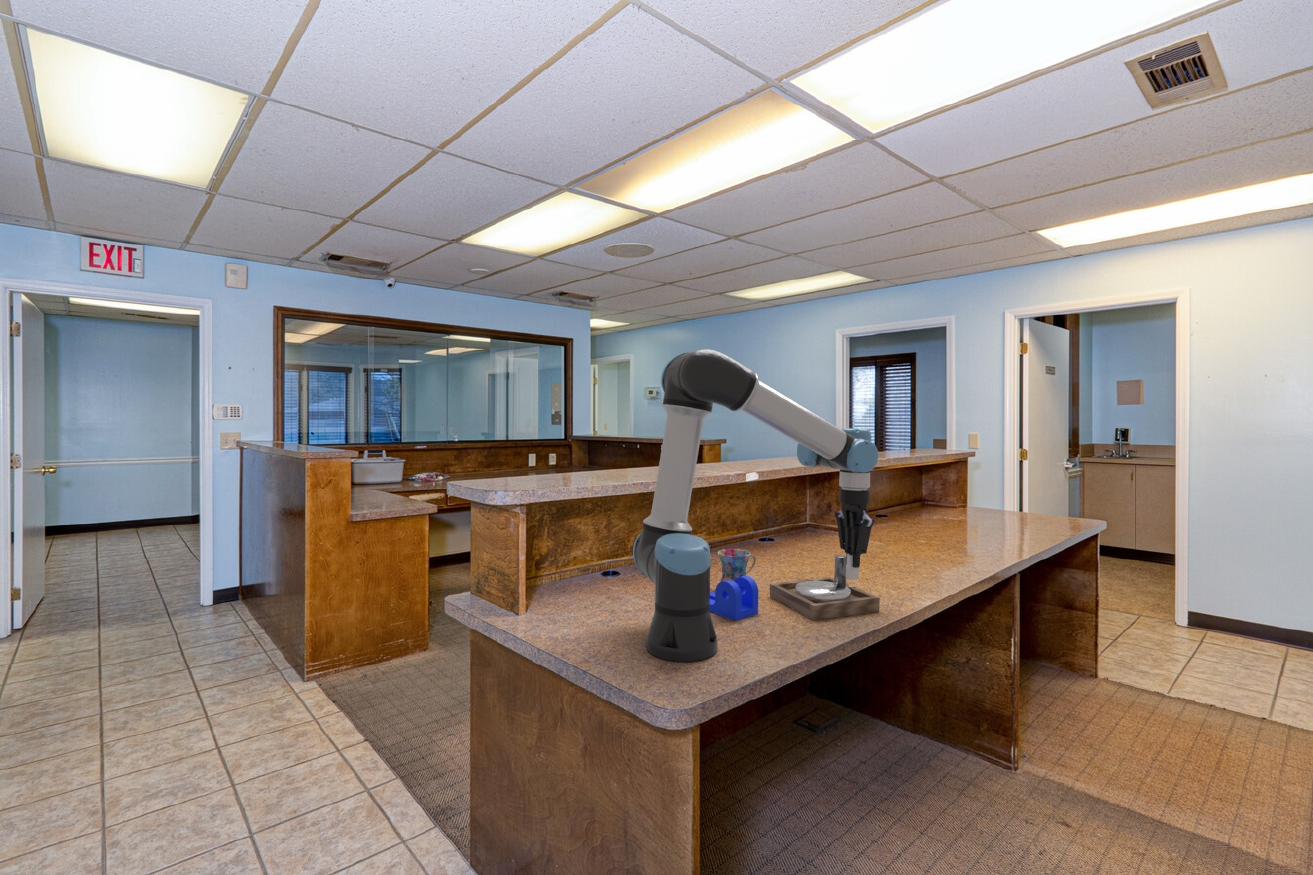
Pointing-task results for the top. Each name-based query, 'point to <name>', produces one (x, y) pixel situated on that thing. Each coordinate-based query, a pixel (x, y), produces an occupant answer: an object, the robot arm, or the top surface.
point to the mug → (734, 563)
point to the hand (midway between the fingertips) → (852, 578)
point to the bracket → (735, 598)
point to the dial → (827, 586)
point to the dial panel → (816, 611)
